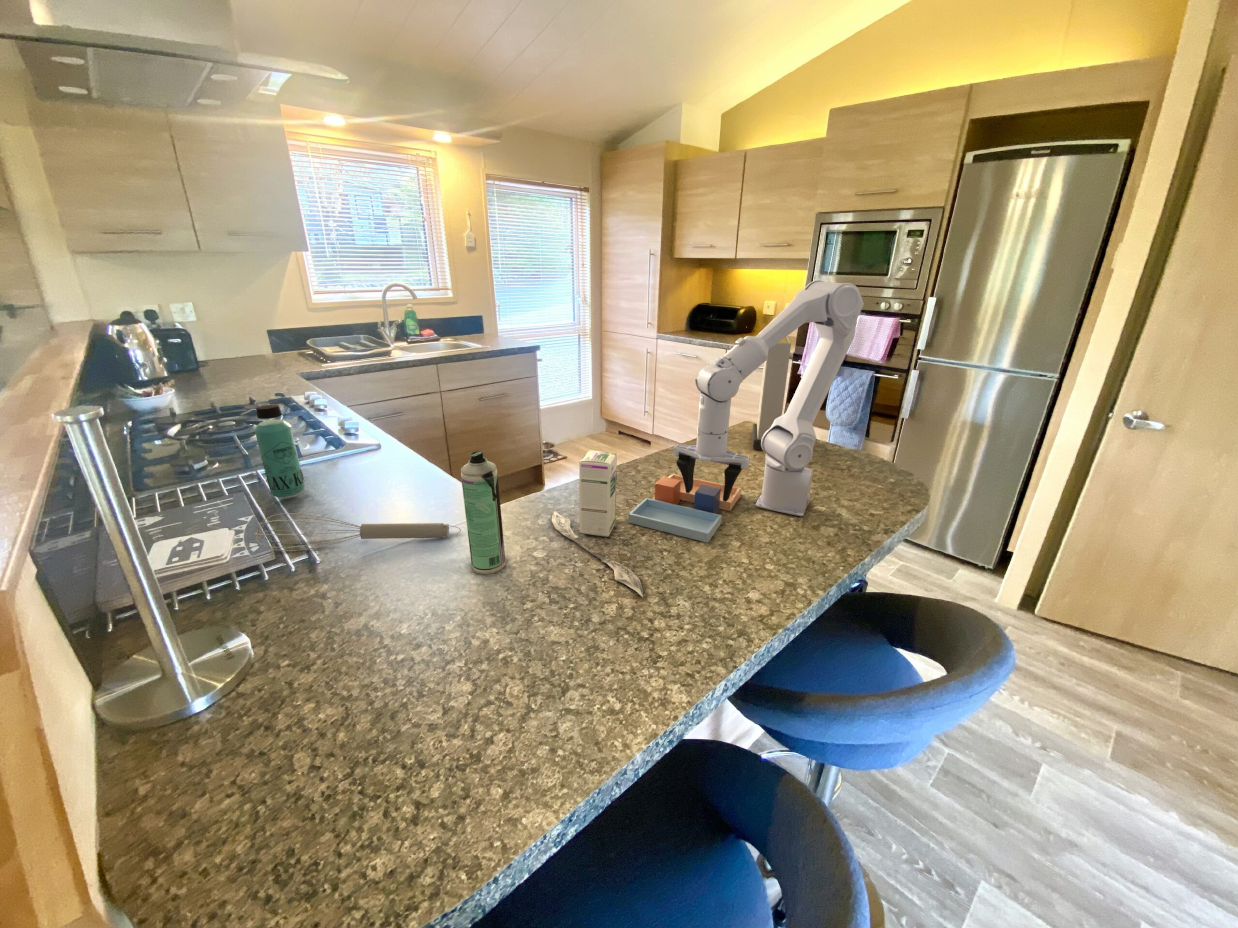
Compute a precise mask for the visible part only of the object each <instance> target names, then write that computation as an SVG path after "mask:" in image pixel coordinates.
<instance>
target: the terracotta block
mask: <svg viewBox="0 0 1238 928" xmlns="http://www.w3.org/2000/svg"><path fill="white" fill-rule="evenodd" d="M680 486H681V480H676V479H672V478H668V477H666V476H662V477H661V478H659V480H658V481H656V482H655V483H654V500H658V501H662V502H667V503H671V504H675V505H679V503H680V502H681V500H680Z"/></svg>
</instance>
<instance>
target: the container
mask: <svg viewBox="0 0 1238 928" xmlns="http://www.w3.org/2000/svg"><path fill="white" fill-rule="evenodd" d="M791 348H792V343H791V340H790V338H789V335H788V336H787V337H785V338H784V339H783V340H781V341H780V342H779V343H777V344H776V345H775V346H773V347H772V348H771V349H769V351H768V358H767V360H766V361H765V362H764V363H763V368H762V370H763V371H762V377H761V378H762V379H761V387H760V394H759V395H760V396H759V404H758V414H757V423H754V424H753V425H752V449H753V450H756V451H763V450H762V447H761V440H762V437H763V435H764V433H765V432H766V431H767V430H768V429H769V428H770V427H771V426H772V424H773V422H774V420H775V419H776V418H778V417H780V416H782V415H783V409H784V402H785V395H786V394H785V393H786V386H787V381H788V380H787V379H788V373H789V372H788V371H789V363H790V356H791V350H792V349H791Z"/></svg>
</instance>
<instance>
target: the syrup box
mask: <svg viewBox="0 0 1238 928" xmlns="http://www.w3.org/2000/svg"><path fill="white" fill-rule="evenodd" d="M617 472H618V454H617V453H615V452H611V451H610V452H609V451H602V450H587V452H586V453H585V455H584V456H583V457H582V458H581V459H580V460H579V486H578V487H579V489H578V490H579V533H580V534H586V535H591V536H599V537H606V538H607V537H610V534H611V533H612V531H613V529H614V527H615V525H616V521H617V519H616V517H617V513H616V512H617V475H618V474H617Z"/></svg>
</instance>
